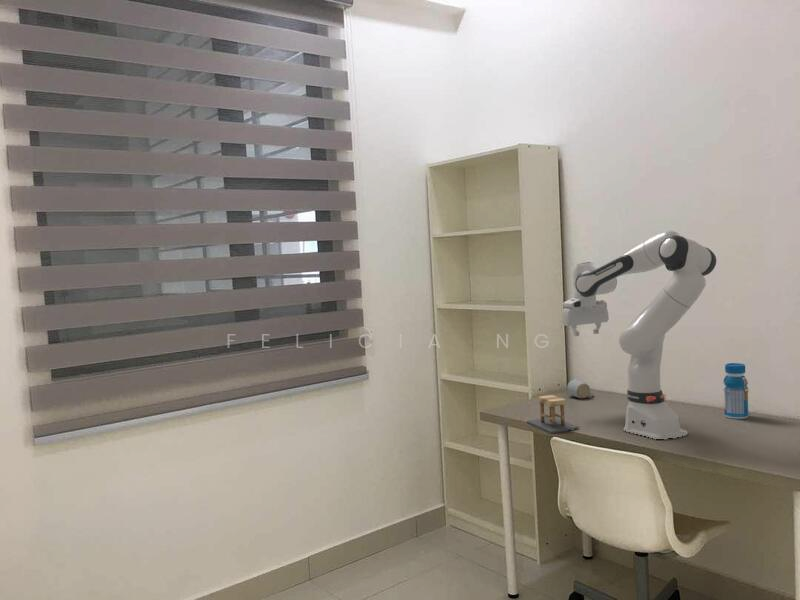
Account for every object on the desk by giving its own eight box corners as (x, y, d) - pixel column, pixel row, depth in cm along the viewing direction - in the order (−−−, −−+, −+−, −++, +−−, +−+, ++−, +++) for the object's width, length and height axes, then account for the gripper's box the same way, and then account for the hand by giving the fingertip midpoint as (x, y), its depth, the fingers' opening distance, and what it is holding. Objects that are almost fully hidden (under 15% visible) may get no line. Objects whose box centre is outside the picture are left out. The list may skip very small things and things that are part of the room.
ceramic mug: (577, 400, 285) (577, 383, 284) (566, 396, 293) (566, 380, 292) (597, 397, 289) (597, 380, 288) (586, 394, 296) (586, 377, 296)
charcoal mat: (579, 429, 240) (579, 427, 240) (551, 433, 236) (550, 431, 236) (553, 418, 257) (553, 416, 257) (526, 422, 253) (526, 420, 253)
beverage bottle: (731, 420, 239) (729, 367, 238) (719, 414, 248) (718, 363, 246) (753, 418, 239) (752, 365, 238) (741, 413, 248) (739, 361, 246)
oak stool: (539, 421, 250) (537, 396, 250) (552, 419, 252) (551, 394, 251) (552, 427, 241) (551, 401, 240) (566, 425, 242) (565, 399, 242)
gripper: (601, 299, 272) (603, 331, 273) (559, 303, 266) (561, 336, 267) (611, 300, 266) (612, 333, 267) (568, 304, 260) (569, 337, 261)
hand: (586, 334), depth 267 cm, fingers open, 8 cm apart
